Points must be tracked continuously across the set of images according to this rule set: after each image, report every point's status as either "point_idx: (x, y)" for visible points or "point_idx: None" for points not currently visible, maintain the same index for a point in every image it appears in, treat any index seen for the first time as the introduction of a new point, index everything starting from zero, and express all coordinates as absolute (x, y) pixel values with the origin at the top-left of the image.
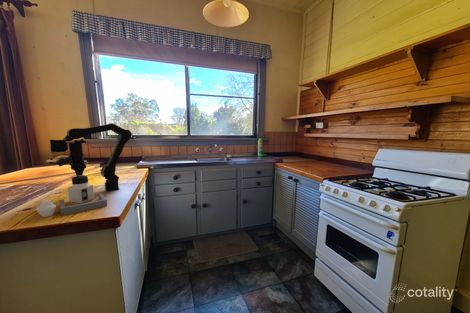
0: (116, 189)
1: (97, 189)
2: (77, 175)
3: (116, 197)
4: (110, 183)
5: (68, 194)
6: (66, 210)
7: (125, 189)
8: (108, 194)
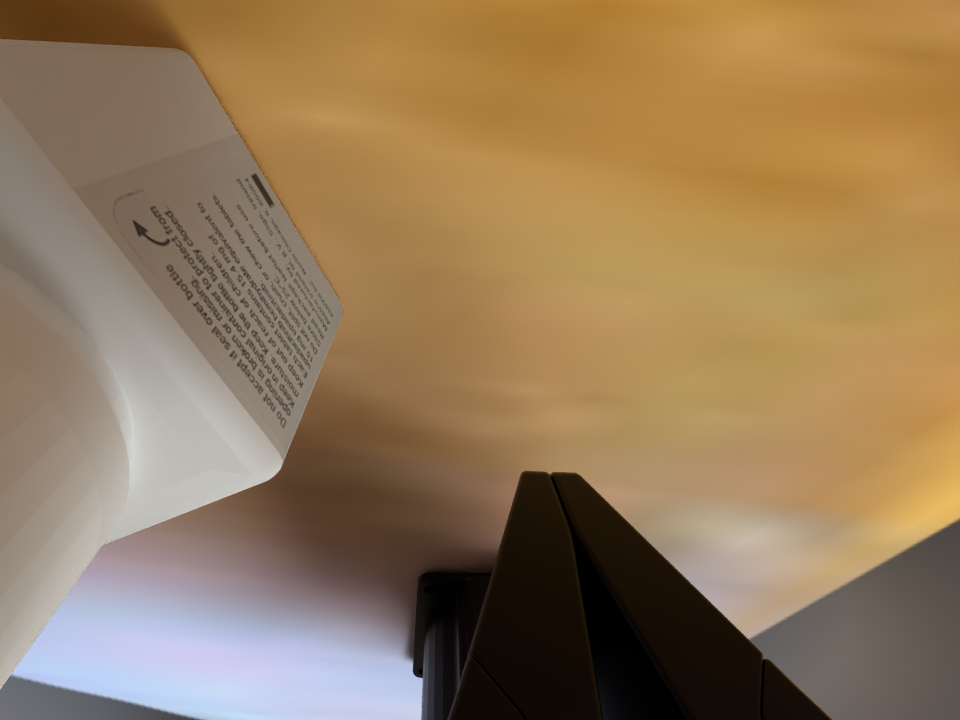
0: (414, 651)
1: (656, 504)
2: (482, 613)
3: None
4: (431, 714)
5: (82, 44)
6: None
7: (377, 700)
8: (264, 556)
